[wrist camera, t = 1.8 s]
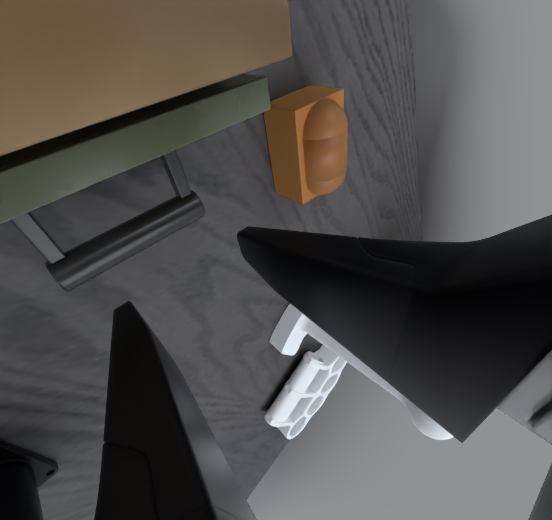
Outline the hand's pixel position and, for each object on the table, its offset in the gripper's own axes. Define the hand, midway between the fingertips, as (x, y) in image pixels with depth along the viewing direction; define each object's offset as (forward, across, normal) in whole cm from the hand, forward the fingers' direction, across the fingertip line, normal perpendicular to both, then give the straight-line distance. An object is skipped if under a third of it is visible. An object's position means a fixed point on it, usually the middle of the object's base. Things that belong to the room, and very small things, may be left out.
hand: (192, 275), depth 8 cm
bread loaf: (+12, -15, +4) cm, 20 cm away
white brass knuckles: (+12, -12, +44) cm, 47 cm away
